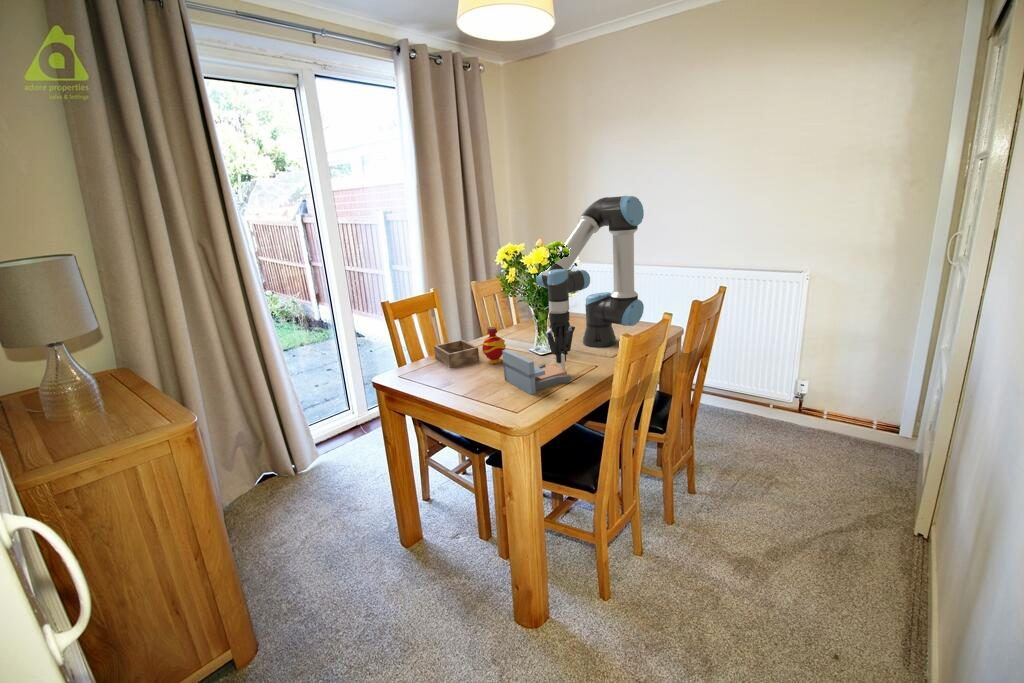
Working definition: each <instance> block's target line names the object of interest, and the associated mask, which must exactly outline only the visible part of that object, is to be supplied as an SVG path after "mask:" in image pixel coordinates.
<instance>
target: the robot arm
mask: <svg viewBox="0 0 1024 683" xmlns="http://www.w3.org/2000/svg"><path fill="white" fill-rule="evenodd" d="M644 213H645V212H644V205H643V204H642V202H641V201H640V198H638V197H637V196H634V195H622V196H611V197H608V196H606V197H602V198H601V197H600V198H599V199H597V200H595V201H594V202H593V203H592V204H590V205H589V206H588V207H587V208H586V209H585V210H584V211H583V212H582V214H581V215H580V216H579V218H578V221H577V222H578V223H577V224H576V226H575V227H574V229H573V231H572V232H571V233H570V235H569V236H568V238H567V240H565V242H564V244H565V245H564V244H563V245H564V246H565V247H566V245H567V246H568V249H570V248H571V249H570V256H568V257H563V258H562V259H560V260H558V261H557V262H556V263H555V264H553V265H552V266H550V267H549V268H548V267H547V268H548V269H547V268H546V269H547V270H545V271H543V272H541V273H540V274H539V275H538V276H537V275H536V276H537V277H536V276H535V280H536V284H537V285H538V286H539V287H540V288H543V287H544V288H545V289H547V293H548V296H547V297H548V311H549V314H548V316H549V317H548V319H549V323H550V325H549V329H548V330H547V331H546V330H545V331H544V335H545V336H546V338H547V342H548V345H549V348H550V349H549V350H550V352H551V354H553V355H555V359H556V361H555V362H556V364H557V367H559V368H561V369H563V370H565V371H566V362H567V356H568V354H569V352H570V351H571V350H572V349H571V348H572V341H573V335H574V332H575V330H576V327H575V326H574V325H571V323H570V311H569V310H570V301H569V299H570V298H569V295H570V294H571V293H574V292H578V291H582V290H584V289H587V288H588V287H589V286H590V284H591V276H590V274H589V272H588V271H586V270H584V269H580V270H579V269H578V270H574V271H573V270H569V269H570V268H571V267H572V265H573V264H574V263H575V261H576V260H577V258H578V256H579V255H580V253H581V252H582V251H583V249H584V247H585V246H586V245H587V243H588V242H589V240H590V239H591V237H592V236H593V235H594V234H596V233H597V232H598V231H599V230H600V229H601V228H602V227H608V232H609V233H610V234H611V235H612V261H613V262H612V263H613V264H612V265H613V268H612V270H613V291H612V292H609V291H608V292H607V291H606V292H597V293H592V294H589V295H587V296H586V297H585V305H584V306H585V324H586V327H585V331H584V334H583V337H582V343H583V345H585V346H587V347H592V348H593V347H594V348H604V347H611V346H613V345H615V344H617V343H616V342H617V338H616V337H617V336H616V335H615V330H614V329H613V324H615V325H620V326H623V327H624V326H625V327H627V326H628V327H633V326H635V325H637V324H638V323H639V322H640V320H641V319H642V317H643V315H644V308H645V307H644V303H643V301H642V300H641V299H639V294H638V293H637V291H635V233H636V232H637V231H638V226H639V225H641V224H642V222H643V219H644V215H645V214H644Z"/></svg>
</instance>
